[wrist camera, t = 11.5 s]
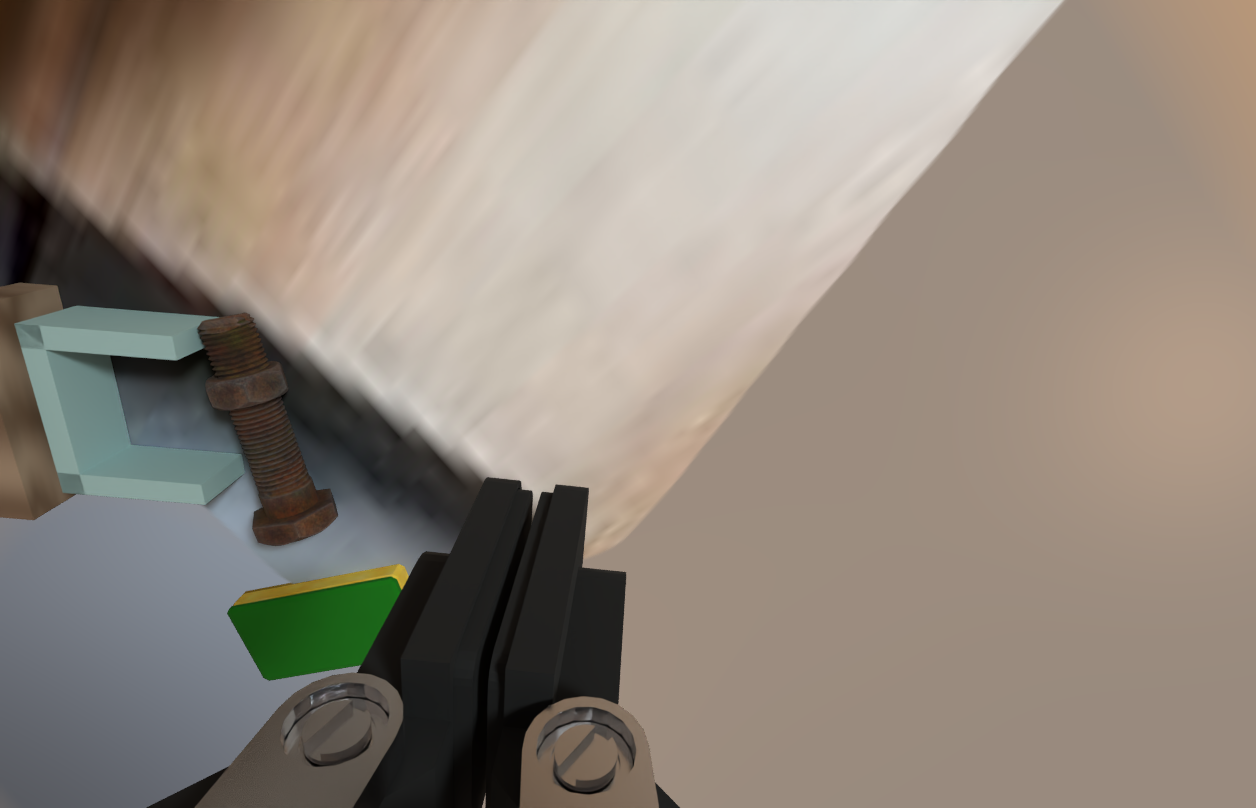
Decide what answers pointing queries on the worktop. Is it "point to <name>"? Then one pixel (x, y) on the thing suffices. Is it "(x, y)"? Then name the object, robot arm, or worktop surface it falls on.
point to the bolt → (264, 431)
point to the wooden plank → (24, 412)
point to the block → (114, 404)
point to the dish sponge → (316, 621)
